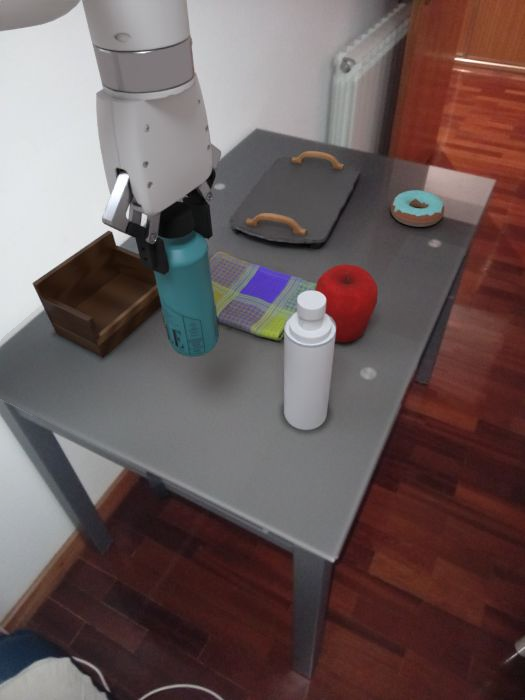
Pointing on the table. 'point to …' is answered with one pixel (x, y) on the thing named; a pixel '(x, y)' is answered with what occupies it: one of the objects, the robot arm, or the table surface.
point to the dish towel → (254, 295)
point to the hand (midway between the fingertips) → (178, 249)
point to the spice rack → (99, 295)
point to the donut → (417, 208)
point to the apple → (348, 299)
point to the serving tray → (297, 199)
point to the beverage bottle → (186, 284)
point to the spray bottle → (308, 361)
